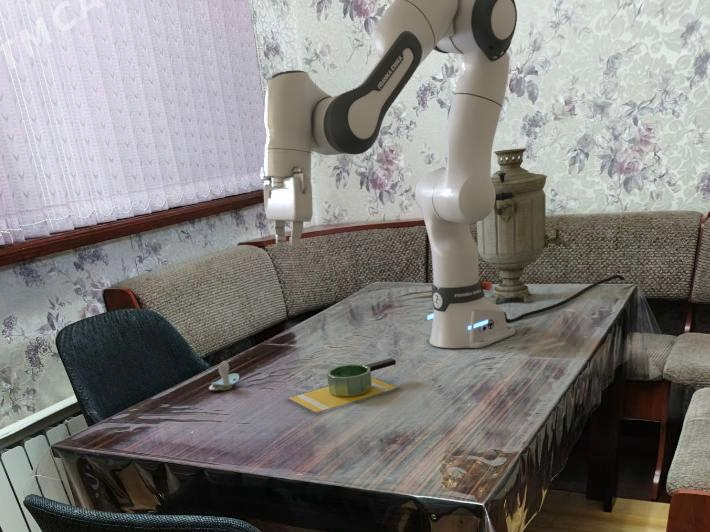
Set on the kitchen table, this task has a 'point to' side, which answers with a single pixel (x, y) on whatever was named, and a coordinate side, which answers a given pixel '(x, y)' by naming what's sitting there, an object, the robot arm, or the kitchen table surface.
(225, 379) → the pacifier
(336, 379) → the green saucepan
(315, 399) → the towel
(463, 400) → the kitchen table surface
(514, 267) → the samovar
